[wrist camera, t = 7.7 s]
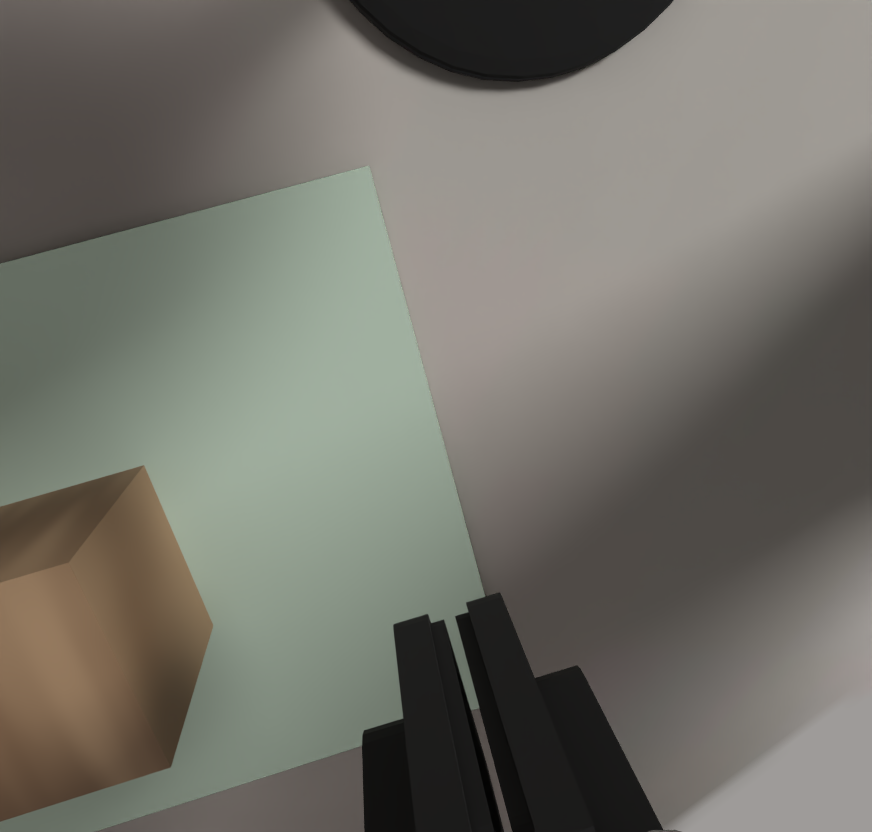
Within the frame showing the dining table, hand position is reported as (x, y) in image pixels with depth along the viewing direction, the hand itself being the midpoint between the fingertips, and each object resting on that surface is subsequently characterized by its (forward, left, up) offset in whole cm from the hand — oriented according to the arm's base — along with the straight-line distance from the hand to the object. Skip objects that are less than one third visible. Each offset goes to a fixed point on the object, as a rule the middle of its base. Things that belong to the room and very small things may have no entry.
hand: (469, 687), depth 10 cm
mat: (+9, 0, -9) cm, 12 cm away
